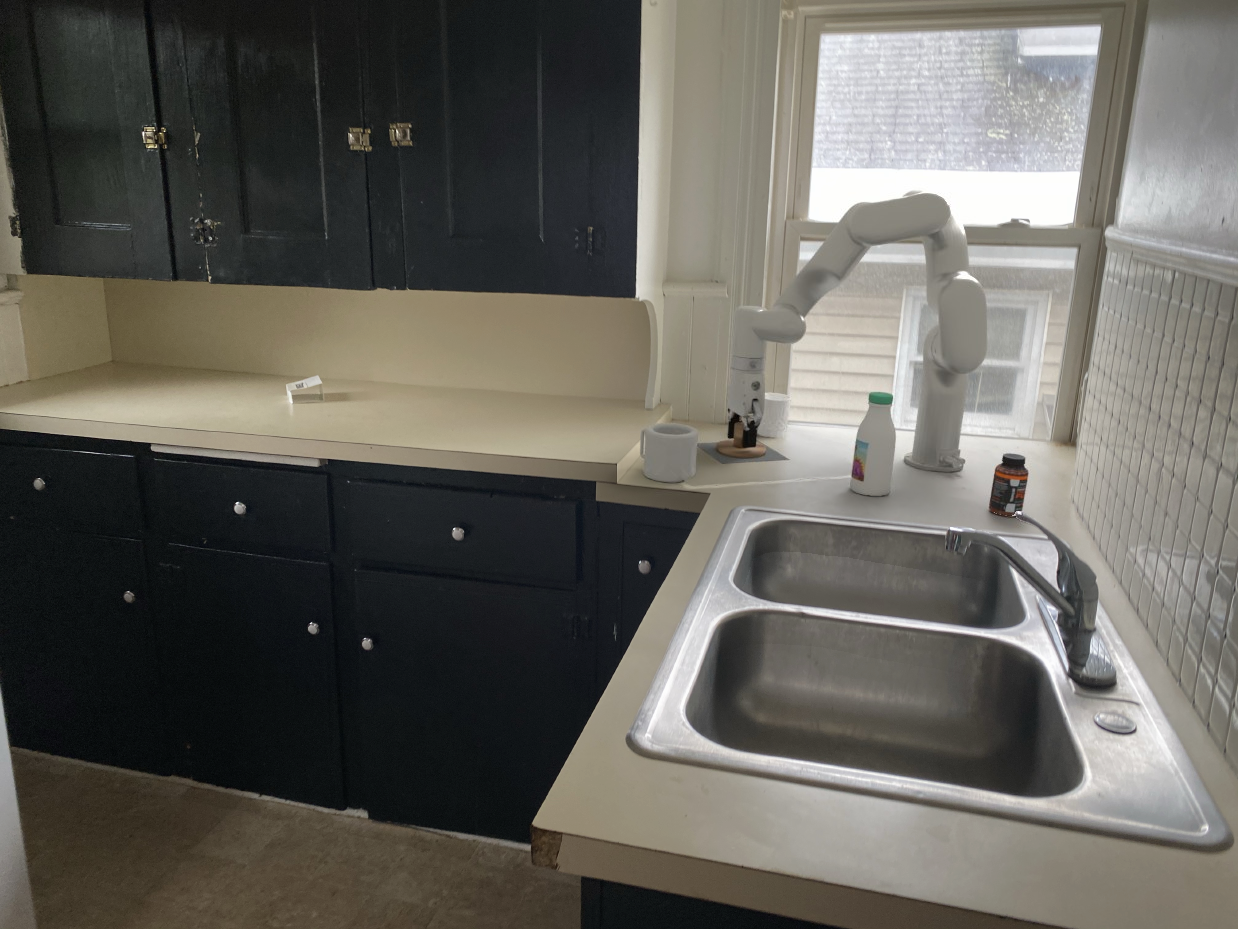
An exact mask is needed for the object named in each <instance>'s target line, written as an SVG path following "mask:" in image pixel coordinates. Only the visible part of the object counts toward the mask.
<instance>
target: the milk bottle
mask: <svg viewBox="0 0 1238 929" xmlns="http://www.w3.org/2000/svg"><path fill="white" fill-rule="evenodd" d="M893 402H894V395H893V394H892V393H889V392H882V391H872V392H870V393H869V395H868V402H867V404H868V408H867V411H866V414H865V416H864V418H863V419H862V420H861V422H860V425H859V427H858V428H857V433H856V437H855V443H854V452H853V460H852V468H851V478H850V489H851V491H852V492H854V493H856V494H859V495H862V496H863V495H864V496H867V495H870V496H869V497H883V496H882V495H884V496H886V495H888V494H889V493H890V491H891V490H890V489H891V485H892V478H893V468H894V461H895V451H896V439H897V433H896V427H895V424H894V420H893V417H892V413H891V410H892V409H891V408H892V407H893Z"/></svg>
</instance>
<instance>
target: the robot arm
mask: <svg viewBox="0 0 1238 929" xmlns="http://www.w3.org/2000/svg"><path fill="white" fill-rule="evenodd" d="M917 238H920V240H921V242H922V245H923V249H924V258H925V272H926V274H925V278H926V302H927V304H928V306H929V308H930V309H931V311H933V312H934V313H935V314H937V316H938V323H937V324H935V325H934V326H932V327H931V328H930V330H928V332H927V334H926V336H925V338H924V342H923V350H922V377H921V385H920V392H919V400H918V406H917V407H918V408H917V414H916V421H915V430H914V437H913V444H912V445H913V446H912V451H911V452H908V453H906V454H904V458H903V461H904V463H906V464H907V465H909V466H911V467H914V468H916V469H920V470H924V471H929V472H931V471H932V472H938V473H940V472H942V473H950V472H951V473H952V472H959V471H961V470H962V469H963V468H964V465H965V464H966V459H965V458H963V457H961V449H959V446H960V441H961V434H962V433H961V432H962V428H963V426H962V425H963V419H964V413H965V406H966V399H967V394H968V384H969V374H970V373H972V372H974V371H976V370H978V369H979V368H980V367H981V365H982V364H983V362H984V361H985V358H986V355H987V350H988V315H987V312H988V310H987V307H988V306H987V296H986V294H985V290H984V287H983V286H982V284H981V283H980V281H978V279H976V278H975V277H973V276H972V275H971V273H970V257H969V250H968V249H969V248H968V239H967V234H966V230H965V227H964V225H963V222H962V220H961V219H960V217H959V215H958V214H957V213H956V211H955V210H954V209H953V208H952V207H951V203H950V202H949V200H948V198H947V197H946V196H945V194H943V193H941V192H939V191H936V190H928V189H914V190H910V191H908V192H906V193H905V194H903V195H902V196H901V197H898V198H891V199H888V200H880V201H875V202H870V201H861V202H857V203H855V204H853V205H852V206H851V207H850V208H849V209H848V210H847V211H846V212H845V213H844V215H843V216H842V217H841V218H840V220H839V221H838V223H837V224H836V225H835V226H834V228H833V229H832V230H831V231H830V233H829V235H828V236H827V238H826V239H825V240H824V241H823V243H821V245H820V246H819V248H818V249H817V250H816V252H815V253H814V254H813V255H812V257H811V258H810V259H809V261H808V262H807V263H805V265H804V266H803V267H802V269H801V270H800V271H799V272H798V273H797V275H795V277H793V279H792V280H791V282H790V283H789V284H788V285H787V286H786V287H785V288H784V289H783V291H782V292H781V294H780V295H779V296H778V298H777V300H775V302H774V304H773V305H772V306H771V308H770V309H767V308H766V307H763V306H758V305H740V306H737V307H736V309H735V310H734V312H733V322H732V336H731V351H730V363H729V370H730V373H729V375H730V376H729V380H728V381H729V383H728V389H727V400H726V404H727V412H728V416H727V420H728V425H727V437H726V438H728V440H733V439H734V427H735V423H739V422H743V423H744V425H745V430H743V437H742V447H743V448H752V447H756V441H757V439H758V437H757V436H758V434H757V430H758V429H759V425H760V422H761V420H762V418H763V416H764V409H765V393H766V377H765V370H766V369H765V368H766V356H767V344H768V342H770V343H776V344H781V345H792V344H793V345H794V344H796V343H798V342H799V341H801V340H802V339H803V337H804V336H805V334H806V333H807V332H806V331H807V323H806V319H805V318H806V317H807V316H808V314H809V313H810V312H811V310H812V309H813V308H814V307H815V305H816V304H817V303H819V301H820V300H821V299H822V298H823V297H824V296H825V295H827V294H828V293H830V292H832V291H834V290H836V289H837V288H838V287H840V286H841V285H842V284H843V283H845V281H846V280H848V278H849V277H850V275H851V274H852V272H853V271H854V269H855V268H856V267H857V266H858V264H859V263H860V262H861V260H862V259H863V258H864V256H865V255H866V254H867V252H868V251H869V250H870V249H871V248H872V247H874V246H881V245H888V244H893V243H894V244H895V243H898V242H903V241H907V240H911V239H917ZM750 414H752V415H750ZM742 418H743V420H742Z"/></svg>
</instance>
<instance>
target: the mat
mask: <svg viewBox="0 0 1238 929" xmlns="http://www.w3.org/2000/svg"><path fill="white" fill-rule="evenodd" d="M718 442H719V441H715V442H699V443H698V442H697V448H700V449H701V451H704V452H705V453H706V454H708V455H709V456H711V457H712V458H714V459H715V460H717V461H718V462H719V463H721V464H722V465H724V464H741V463H758V462H759V463H760V462H774V461H776V462H777V461H790V460H791V459H790V458H788V457H786V456H784V455H783V454H781V453H779V452H778V451H776V450H774V449H773V448H771V447H769V446H768V445H766V444H765V443H763V442H761V441H759V440H757V441H756V442H758V443H761V444H763V445H764V446H765V447H766V454H765V455H764V456H762V457H758V458H734V457H729V456H725V455H722V454H720V453H718V452H717V451H716V445H717V443H718Z"/></svg>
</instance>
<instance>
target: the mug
mask: <svg viewBox="0 0 1238 929" xmlns="http://www.w3.org/2000/svg"><path fill="white" fill-rule="evenodd" d="M698 440H699V431H698V430H697V428H695V427H693V426H691V425H687V424H683V423H677V422H659V423H653V424H650V425H648V426H646V427H645V428H643V429H642V430H641V431H640V444H639V445H640V446H639V447H640V448H639V456H640V457H641V458H643V466H642V467H643V474H644V476H645V477H646V478H648V479H650V480H652V481H656V482H661V483H662V482H663V483H672V484H673V483H675V484H676V483H684V482H686V481H685V480H687V479H690V478H692V477H694V476H695V475H696V470H697V452H698V446H697V443H698Z"/></svg>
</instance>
